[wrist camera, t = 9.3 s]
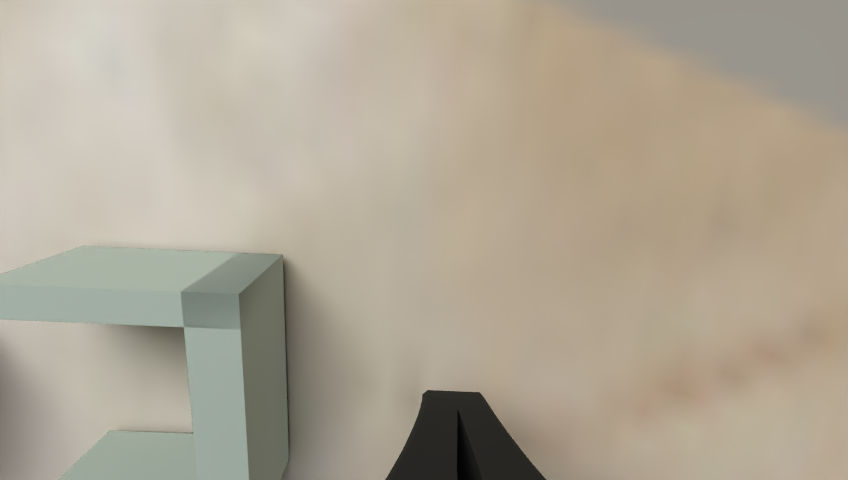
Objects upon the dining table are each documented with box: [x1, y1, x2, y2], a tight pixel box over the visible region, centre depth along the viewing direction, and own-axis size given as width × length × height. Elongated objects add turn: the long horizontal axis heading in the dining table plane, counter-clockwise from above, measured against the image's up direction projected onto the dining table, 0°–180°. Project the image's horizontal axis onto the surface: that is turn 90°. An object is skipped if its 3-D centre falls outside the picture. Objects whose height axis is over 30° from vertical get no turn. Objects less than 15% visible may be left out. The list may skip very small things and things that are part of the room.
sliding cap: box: [0, 246, 289, 480], centre depth 11 cm, size 7×5×3 cm
